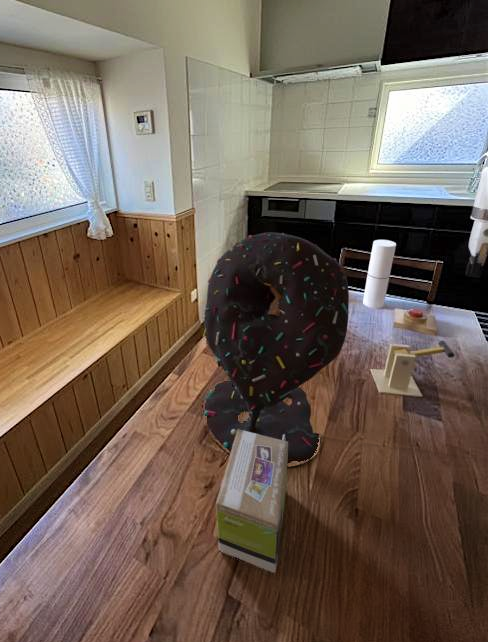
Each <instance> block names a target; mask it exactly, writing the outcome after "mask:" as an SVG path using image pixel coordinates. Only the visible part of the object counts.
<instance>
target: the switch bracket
mask: <svg viewBox="0 0 488 642" xmlns="http://www.w3.org/2000/svg"><path fill="white" fill-rule="evenodd" d="M401 349H406V351H407V352H410V351H411V346H410V345H409V344H399V343H390V344H389V349H388V352H387V356H386V357H387V358H386V362H385V366H384V369H379V368H377V369H376V368H370V373H371V375H372V378H373V380H374V383H375V385H376V388H377V390H378V393H379V394H386V395H395V396H396V395H397V396H406V397H408V396H409V397H415V398H417V397H418V398H423V393H421V391H420V388H419V387H418V385H417V384H416V381H415V379H414V377H413V376H412V374H413V370H414V367H415V364H416V360H417V357H416V356H415V355H411V354H398V353H396V354H395V355H394V350H401Z"/></svg>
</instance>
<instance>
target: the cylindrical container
mask: <svg viewBox="0 0 488 642" xmlns="http://www.w3.org/2000/svg"><path fill="white" fill-rule="evenodd" d="M396 247H397V243H396V242H395V241H392V240H389V239H375V240H373V242H372V248H371V253H370V258H369V264H368V270H367V276H366V281H365V287H364V293H363V298H362V304H363V305H364V306H366V307H368V308H369V309H370V308H371V309H381V308H383V307H384V305H385V301H386V297H387V296H386V295H387V290H388V287H389V283H390V282H389V281H390V276H391V272H392V271H391V270H392V267H393V266H392V265H393V262H394V257H395V252H396Z"/></svg>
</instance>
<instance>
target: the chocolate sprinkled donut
mask: <svg viewBox="0 0 488 642" xmlns="http://www.w3.org/2000/svg"><path fill="white" fill-rule="evenodd" d="M349 291H350V290H349V283H348V278H347V275H346V272H345V271H344V269H343V267H342V265H341V264H340V263H339V262H338V261H337V258H335V257H334V258H333V257H331V256H330V255H329V254H328V253H326V251H324V250H323V249H321V248H320V247H319V246H318V245H317V244H316V243H313V242H311V241H309V240H307V239H305V238H302V237H299V236H295V235H291V234H288V233H284V232H282V233H281V232H273V231H272V232H263V233H259V234H255V235H252V234H249V235H248V236H247V237H245V238H243V239H241V240H240V241H238V242H237V241H236V242H235V244H234V245H232V246H229V248H228V250H226V251H225V252H223V254H222V255H221V256H220V257H219V258H218V259H217V261H216V264H215V266H214V268H213V270H212V272H211V275H210V278H208V280H207V291H206V303H205V308H204V313H203V314H204V315H203V316H202V317H203V322H204V331H203V333H202V337H203V338H205V344H206V345H207V346H208V347H209V349H210V351H211V354H213V355H214V359H215V360H217V366H218V367H221V368H222V370H223V371H224V373H225V374H226V376H227V378H228V379H230V380H231V381H224V382H222V383H219V384H217V385H216V386H215V390H214V391H213V390H212V389H211V390H210V392H211V393H210V394H208V395H207V396H206V397H205V398H206V403H205V410H203V414H204V415H205V416H207V424H208V426H209V429H211V432H212V433H213V435H214V436H215V438H216V439H217V440H219V442H220V443H221V444H222V445H224V447H225V448H227V449H228V450H229V451H230V452H231V450H232V447H233V443H234V440H235V437H236V433H237V430H238V429H240V430H244V431H247V432H251V433H255V434H259V435H263V436H267V437H271V438H275V439H279V440H283V441H288V460H287V464H288V463H290V462H292V461H298V462H300V461H304V460H305V461H306V460H307V459H310V458H311V457H312V456H313V455H314V453H316V452H315V451H317V450H316V449H317V447H318V444H317V443H318V442H319V439H318V438H319V434H320V433H317V432H314V429H313V425H312V424H311V411H312V409H311V405H310V402H309V400H308V398H307V393H306V392H305V390H303V388H301V386H302V385H303V384H305V383H307V382H308V381H310V380H312V379H313V378H314V377H315V376H316V375H317V374H318V373H319V372H321V371H322V369H324V368H325V367H327V366H328V365H330V363H332V362H333V361H334V360H335V359H336V358H337V357H338V356H339V355H340V353H341V351H342V348H343V346H344V344H345V341H346V337H347V333H348V325H349V314H350V311H349V307H350V306H349V303H350V299H349V296H350V293H349ZM273 302H275V303H274V314H273V313H269V311H270V309H271V305H272V304H273ZM286 399H290V400H291V403H290V404H288V403H286V402H285V401H284V400H286ZM244 411H245V412H246V411H247V412H249V416H250V417H249V418H248V419H247V420H246V419H245V418H244V417H243V419H244V420H245V421H243V423H240V422H239V421H238V415H240V413H241V412H244Z"/></svg>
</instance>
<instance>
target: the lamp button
mask: <svg viewBox="0 0 488 642" xmlns="http://www.w3.org/2000/svg"><path fill="white" fill-rule="evenodd" d="M409 309H410V313H409V314H410V315H411V316H413V317H417V318H420V317H422V314H423V312H424V311H423V310H422V309H420V308H417V307H411V308H409Z"/></svg>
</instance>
